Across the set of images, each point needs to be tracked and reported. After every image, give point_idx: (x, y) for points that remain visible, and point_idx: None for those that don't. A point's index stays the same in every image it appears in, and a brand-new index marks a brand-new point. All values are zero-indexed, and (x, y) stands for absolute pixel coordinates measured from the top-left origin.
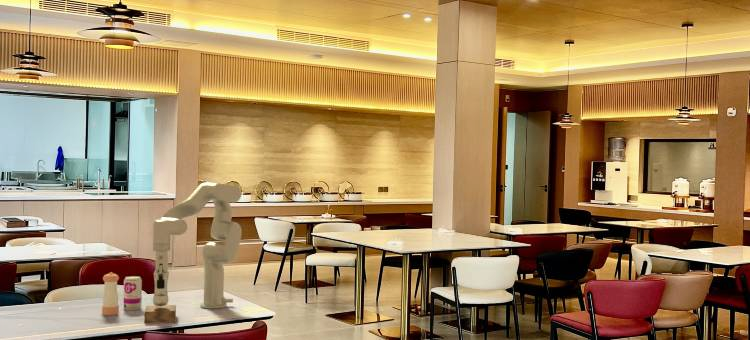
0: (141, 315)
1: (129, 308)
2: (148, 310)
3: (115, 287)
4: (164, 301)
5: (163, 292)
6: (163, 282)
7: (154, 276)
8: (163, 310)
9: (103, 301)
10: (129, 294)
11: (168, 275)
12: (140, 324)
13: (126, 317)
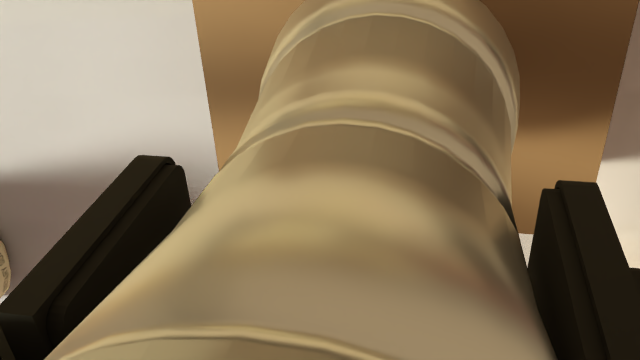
0: (200, 186)
1: (9, 273)
2: (517, 197)
3: None
4: (505, 36)
5: (506, 133)
6: (631, 327)
7: None
8: (578, 7)
9: None
10: None
11: (286, 339)
12: (616, 198)
13: None
